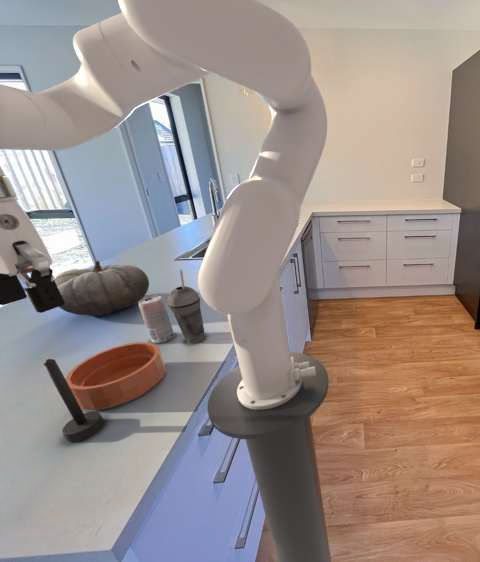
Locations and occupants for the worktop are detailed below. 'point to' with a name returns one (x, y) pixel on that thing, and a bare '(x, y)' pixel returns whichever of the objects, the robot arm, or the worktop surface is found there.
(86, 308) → the gourd
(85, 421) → the grey disc stick
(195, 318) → the beverage cup
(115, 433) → the worktop surface
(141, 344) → the bowl
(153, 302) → the energy drink
